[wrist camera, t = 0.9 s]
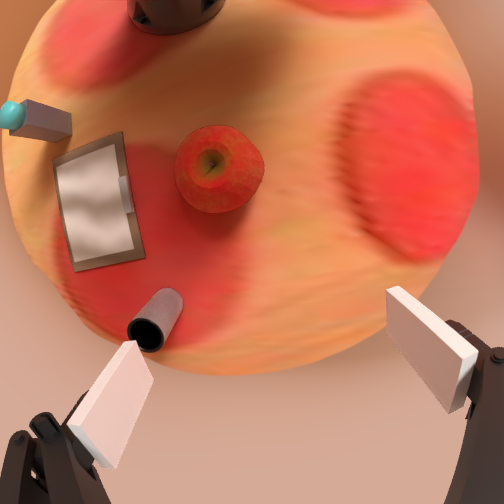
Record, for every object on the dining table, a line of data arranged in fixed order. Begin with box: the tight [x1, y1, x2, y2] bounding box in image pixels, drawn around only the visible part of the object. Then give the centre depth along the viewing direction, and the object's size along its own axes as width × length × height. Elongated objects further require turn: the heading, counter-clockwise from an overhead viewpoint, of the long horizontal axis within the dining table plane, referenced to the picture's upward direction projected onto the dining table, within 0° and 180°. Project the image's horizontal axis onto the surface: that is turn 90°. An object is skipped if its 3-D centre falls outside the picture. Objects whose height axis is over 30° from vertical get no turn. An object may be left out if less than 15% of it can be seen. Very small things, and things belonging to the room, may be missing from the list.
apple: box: [174, 125, 264, 213], centre depth 31 cm, size 10×10×10 cm
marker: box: [0, 99, 72, 142], centre depth 27 cm, size 4×4×14 cm
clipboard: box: [52, 132, 146, 272], centre depth 36 cm, size 18×13×1 cm
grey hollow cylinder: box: [127, 288, 183, 353], centre depth 34 cm, size 4×4×10 cm
